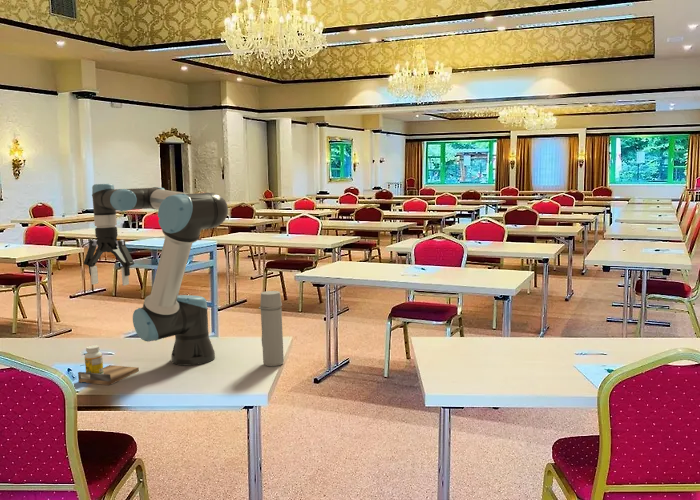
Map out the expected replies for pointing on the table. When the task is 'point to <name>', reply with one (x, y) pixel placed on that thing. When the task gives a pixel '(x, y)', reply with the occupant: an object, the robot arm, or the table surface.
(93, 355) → the supplement bottle
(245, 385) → the table surface
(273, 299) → the water bottle
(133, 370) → the wooden block
